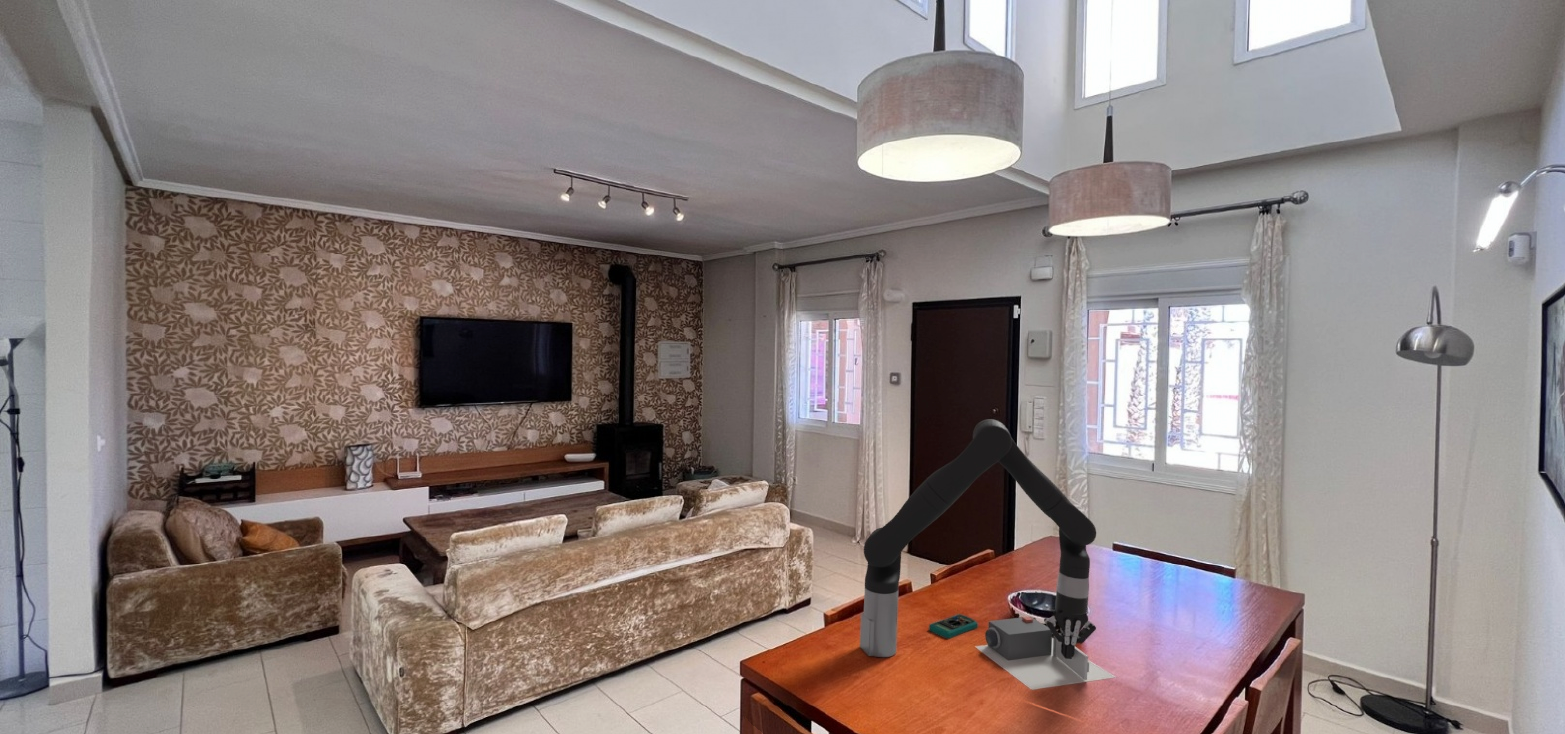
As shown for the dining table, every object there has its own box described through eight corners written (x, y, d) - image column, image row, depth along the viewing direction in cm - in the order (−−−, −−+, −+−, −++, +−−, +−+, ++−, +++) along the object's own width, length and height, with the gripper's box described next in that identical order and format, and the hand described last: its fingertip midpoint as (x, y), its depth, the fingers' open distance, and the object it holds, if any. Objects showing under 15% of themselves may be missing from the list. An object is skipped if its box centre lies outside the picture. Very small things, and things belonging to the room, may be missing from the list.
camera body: (1003, 661, 171) (1004, 632, 171) (983, 646, 179) (984, 618, 179) (1051, 654, 175) (1052, 626, 175) (1029, 640, 184) (1030, 613, 184)
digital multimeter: (979, 629, 192) (979, 620, 192) (947, 641, 183) (948, 631, 183) (959, 621, 198) (959, 612, 198) (927, 632, 189) (928, 622, 189)
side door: (1051, 654, 175) (1052, 631, 175) (1057, 654, 175) (1058, 631, 175) (1083, 680, 161) (1084, 655, 161) (1089, 680, 161) (1090, 655, 161)
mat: (1031, 691, 156) (1031, 689, 156) (974, 647, 179) (974, 646, 179) (1116, 678, 164) (1116, 677, 164) (1051, 638, 187) (1051, 637, 187)
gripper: (1051, 594, 161) (1046, 662, 161) (1105, 599, 160) (1099, 667, 161) (1041, 583, 169) (1036, 648, 169) (1092, 588, 168) (1087, 652, 168)
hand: (1067, 657), depth 165 cm, fingers closed
